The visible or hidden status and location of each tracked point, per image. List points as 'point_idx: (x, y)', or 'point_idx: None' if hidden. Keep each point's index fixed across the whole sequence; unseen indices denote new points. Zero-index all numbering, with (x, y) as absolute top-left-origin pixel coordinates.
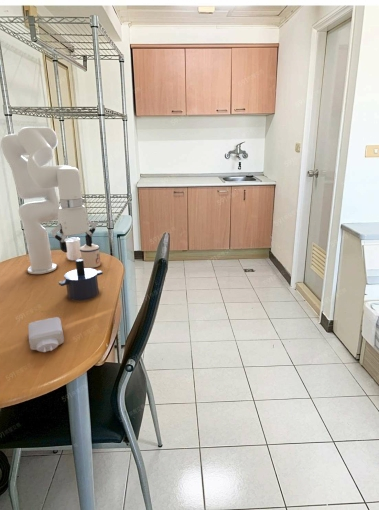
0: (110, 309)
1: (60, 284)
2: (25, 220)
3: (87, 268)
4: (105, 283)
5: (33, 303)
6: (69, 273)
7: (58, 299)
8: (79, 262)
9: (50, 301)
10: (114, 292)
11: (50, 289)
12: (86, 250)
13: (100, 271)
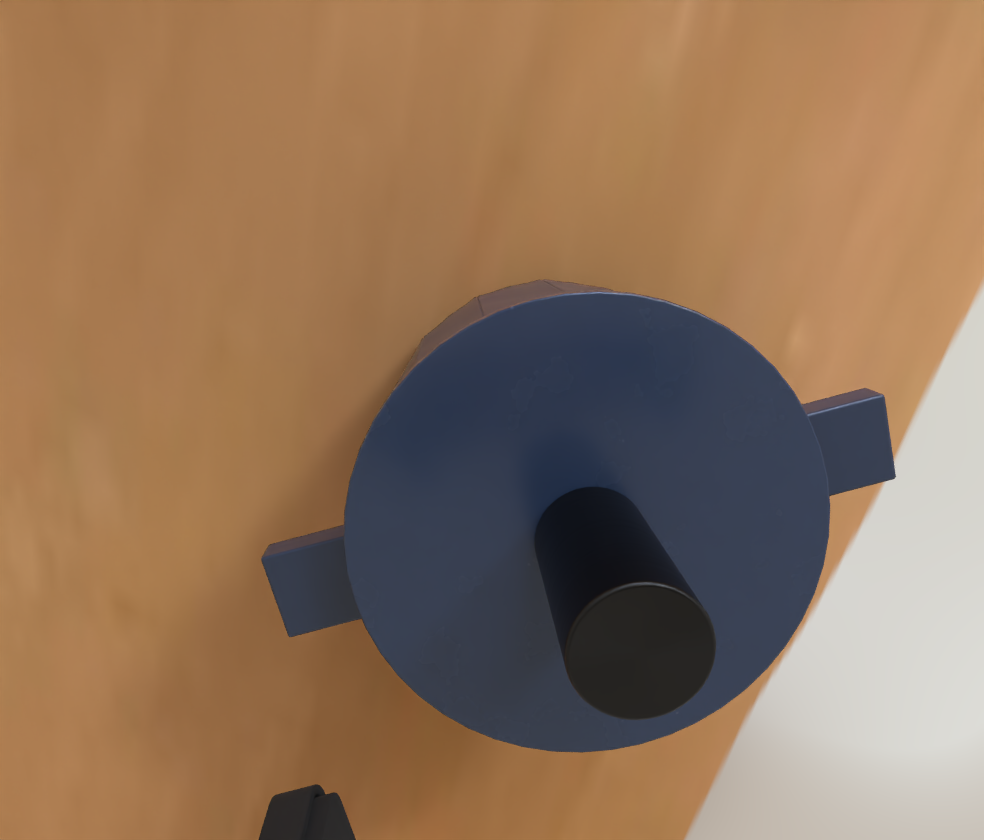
0: (682, 832)
1: (283, 603)
2: None
3: (738, 352)
4: (853, 232)
5: (27, 383)
6: (435, 436)
7: (286, 412)
8: (620, 708)
9: (203, 421)
10: (842, 524)
11: (217, 61)
12: None
13: (877, 451)
